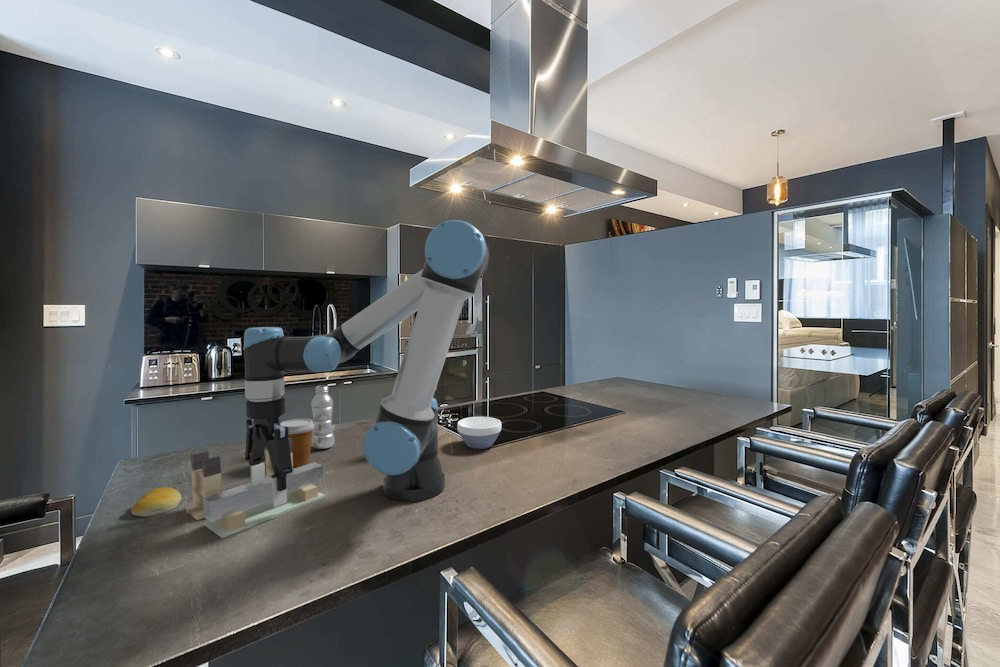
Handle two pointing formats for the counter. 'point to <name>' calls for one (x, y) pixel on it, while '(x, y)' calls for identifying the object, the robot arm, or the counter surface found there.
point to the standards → (213, 478)
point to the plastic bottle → (322, 418)
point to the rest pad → (263, 512)
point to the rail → (258, 492)
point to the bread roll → (156, 502)
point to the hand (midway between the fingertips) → (269, 498)
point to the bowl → (479, 431)
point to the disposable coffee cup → (300, 439)
